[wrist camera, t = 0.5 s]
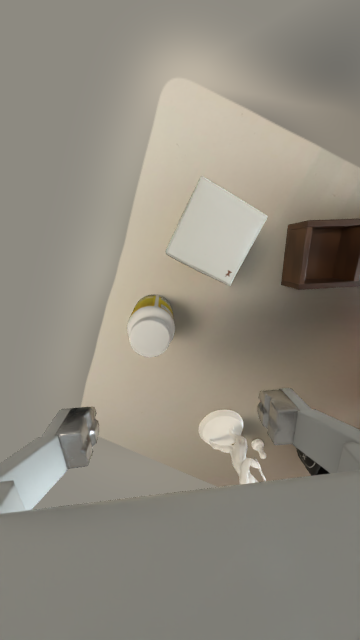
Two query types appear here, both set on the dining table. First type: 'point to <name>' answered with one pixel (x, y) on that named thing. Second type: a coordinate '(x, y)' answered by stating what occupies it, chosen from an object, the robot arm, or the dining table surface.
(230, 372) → the dining table surface
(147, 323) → the pill bottle
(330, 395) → the dining table surface
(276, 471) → the dining table surface
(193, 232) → the white packaging box
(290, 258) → the caddy
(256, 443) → the white rounded piece
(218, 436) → the figurine
